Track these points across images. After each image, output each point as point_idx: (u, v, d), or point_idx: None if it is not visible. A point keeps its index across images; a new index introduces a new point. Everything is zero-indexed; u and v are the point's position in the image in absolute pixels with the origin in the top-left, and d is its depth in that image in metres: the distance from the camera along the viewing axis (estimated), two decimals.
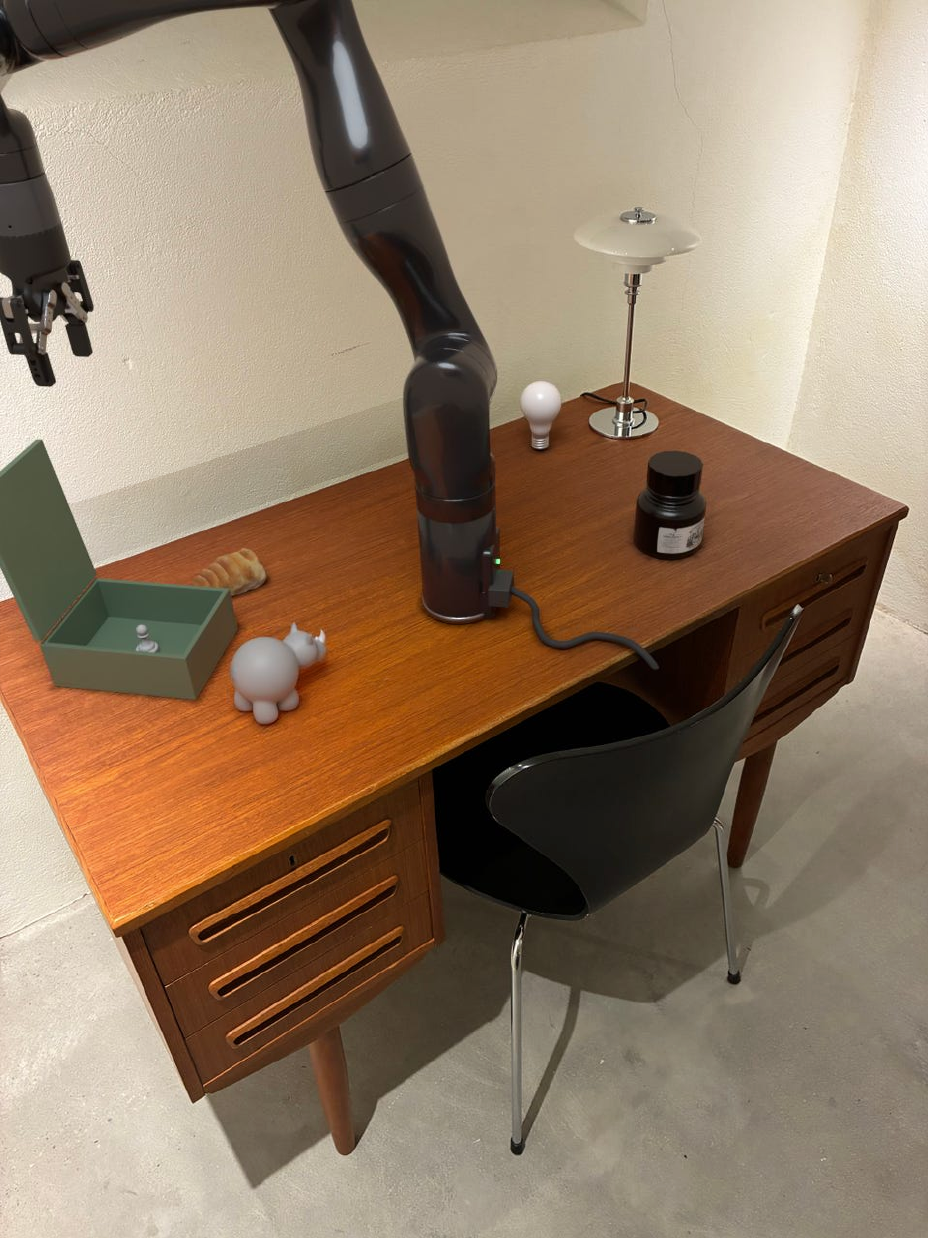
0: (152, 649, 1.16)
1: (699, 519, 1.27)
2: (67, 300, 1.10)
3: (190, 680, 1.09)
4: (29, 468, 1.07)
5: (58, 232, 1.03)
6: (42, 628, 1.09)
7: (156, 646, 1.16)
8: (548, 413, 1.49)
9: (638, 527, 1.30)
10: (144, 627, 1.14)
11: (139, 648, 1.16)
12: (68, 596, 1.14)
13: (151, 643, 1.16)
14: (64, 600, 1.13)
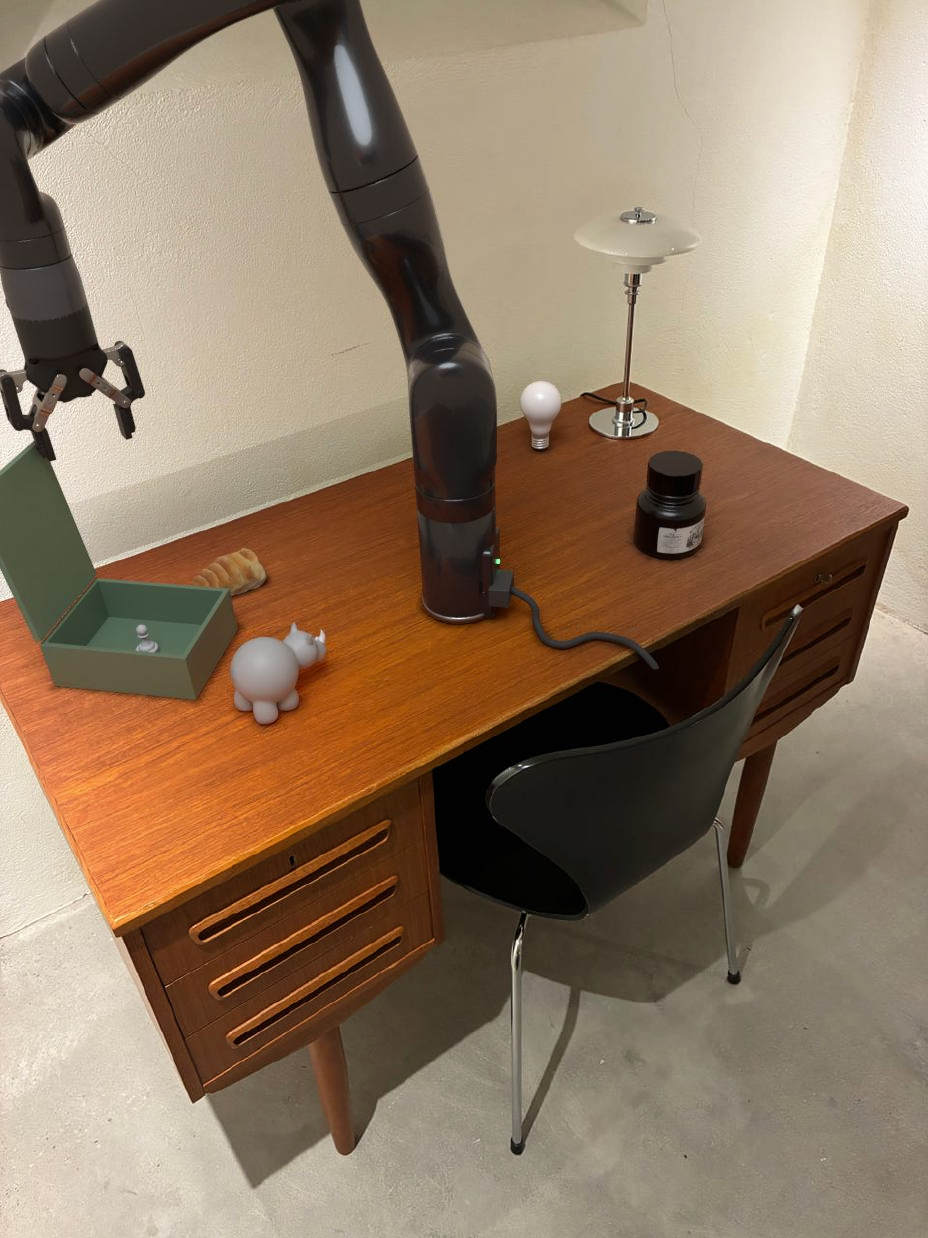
0: (152, 649, 1.16)
1: (699, 519, 1.27)
2: (91, 385, 1.06)
3: (190, 680, 1.09)
4: (28, 468, 1.07)
5: (62, 323, 0.99)
6: (42, 628, 1.09)
7: (156, 646, 1.16)
8: (548, 413, 1.49)
9: (638, 527, 1.30)
10: (144, 627, 1.14)
11: (139, 648, 1.16)
12: (68, 596, 1.14)
13: (151, 643, 1.16)
14: (64, 600, 1.13)
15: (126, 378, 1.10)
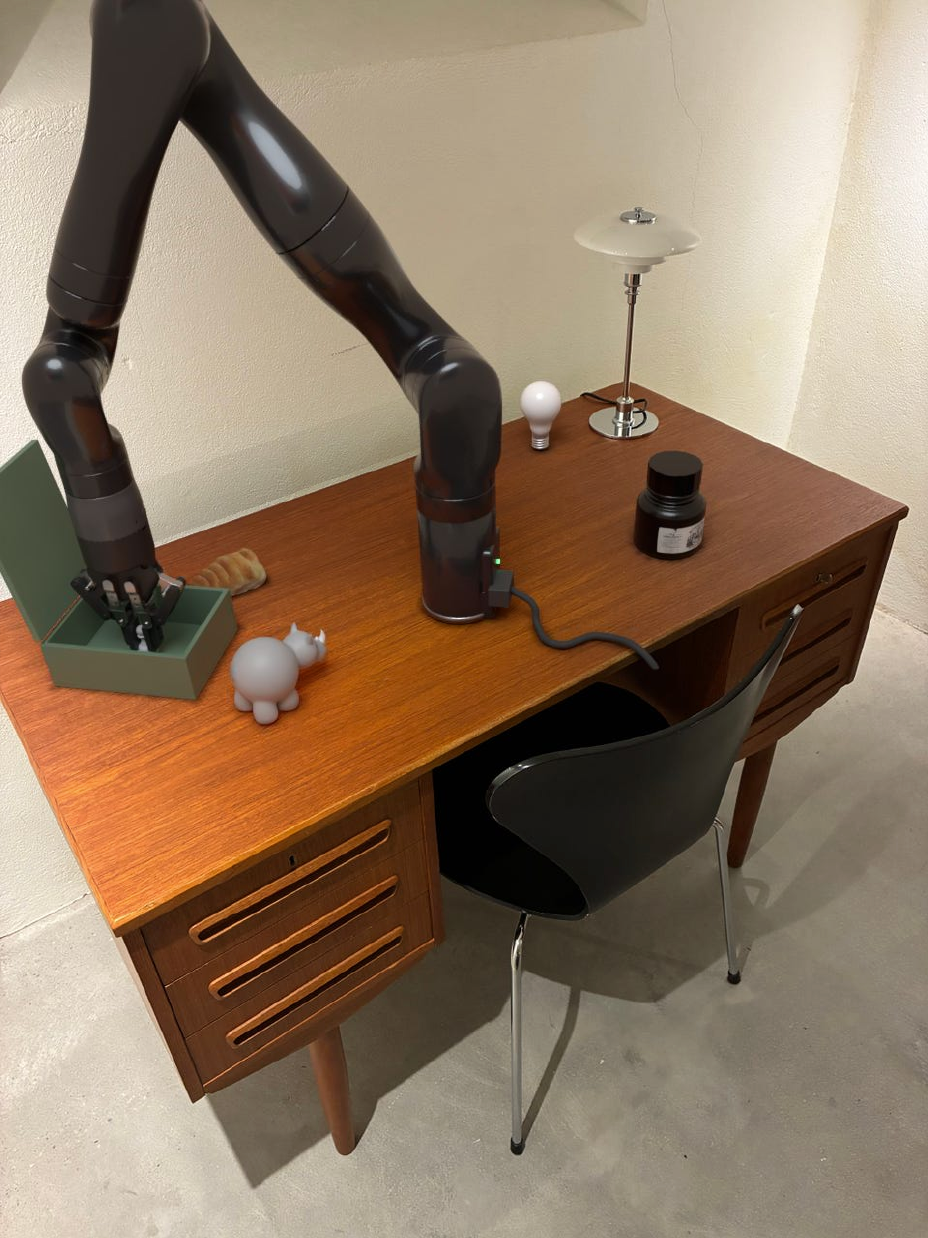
0: None
1: (699, 519, 1.27)
2: None
3: (190, 680, 1.09)
4: (25, 468, 1.07)
5: (97, 547, 1.03)
6: (42, 628, 1.09)
7: None
8: (548, 413, 1.49)
9: (638, 527, 1.30)
10: None
11: (139, 648, 1.16)
12: (68, 596, 1.14)
13: None
14: (64, 600, 1.13)
15: None
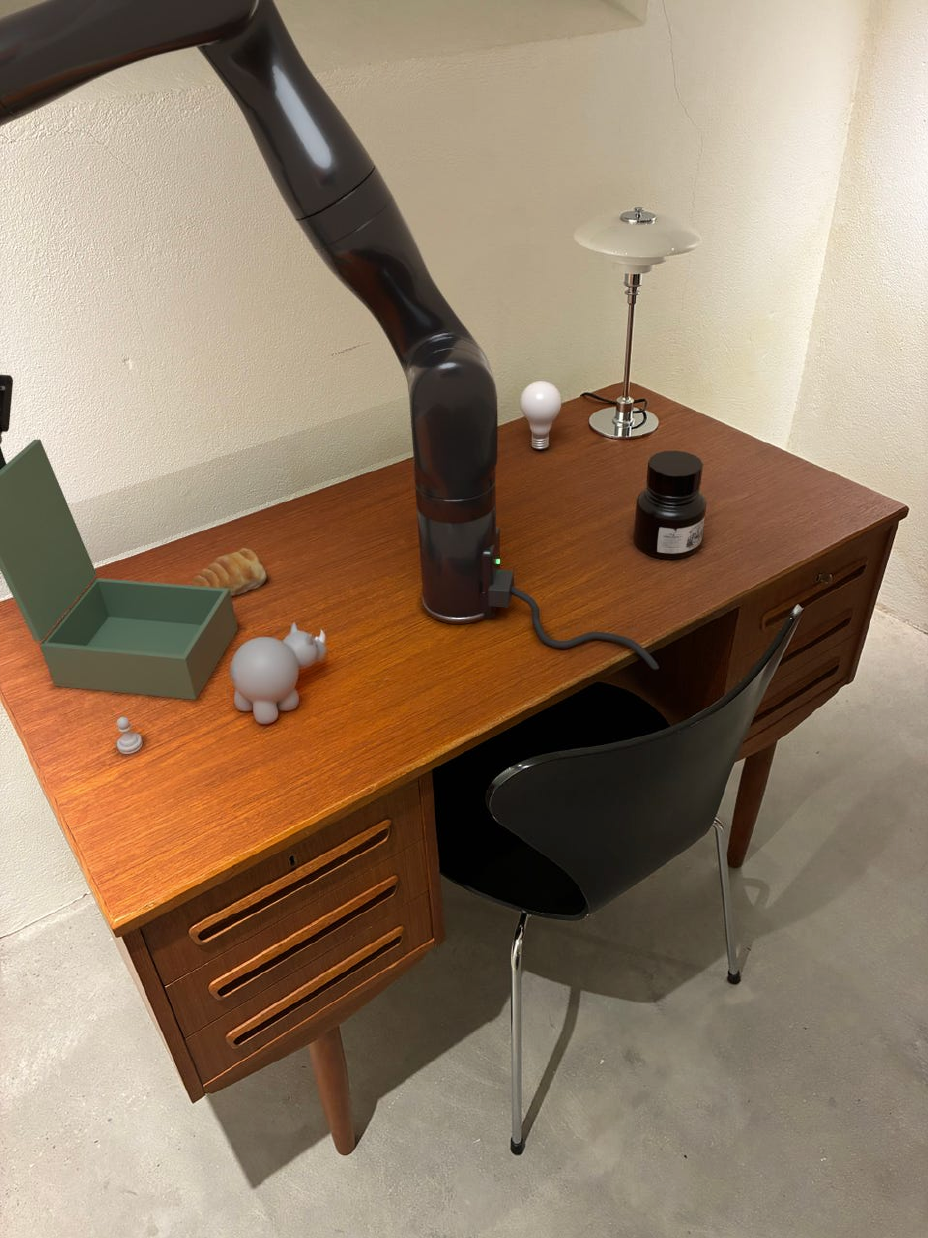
0: (134, 743, 1.04)
1: (699, 519, 1.27)
2: None
3: (190, 680, 1.09)
4: (27, 468, 1.07)
5: None
6: (42, 628, 1.09)
7: (139, 739, 1.04)
8: (548, 413, 1.49)
9: (638, 527, 1.30)
10: (126, 720, 1.03)
11: (120, 742, 1.04)
12: (68, 596, 1.14)
13: (134, 736, 1.04)
14: (64, 600, 1.13)
15: None
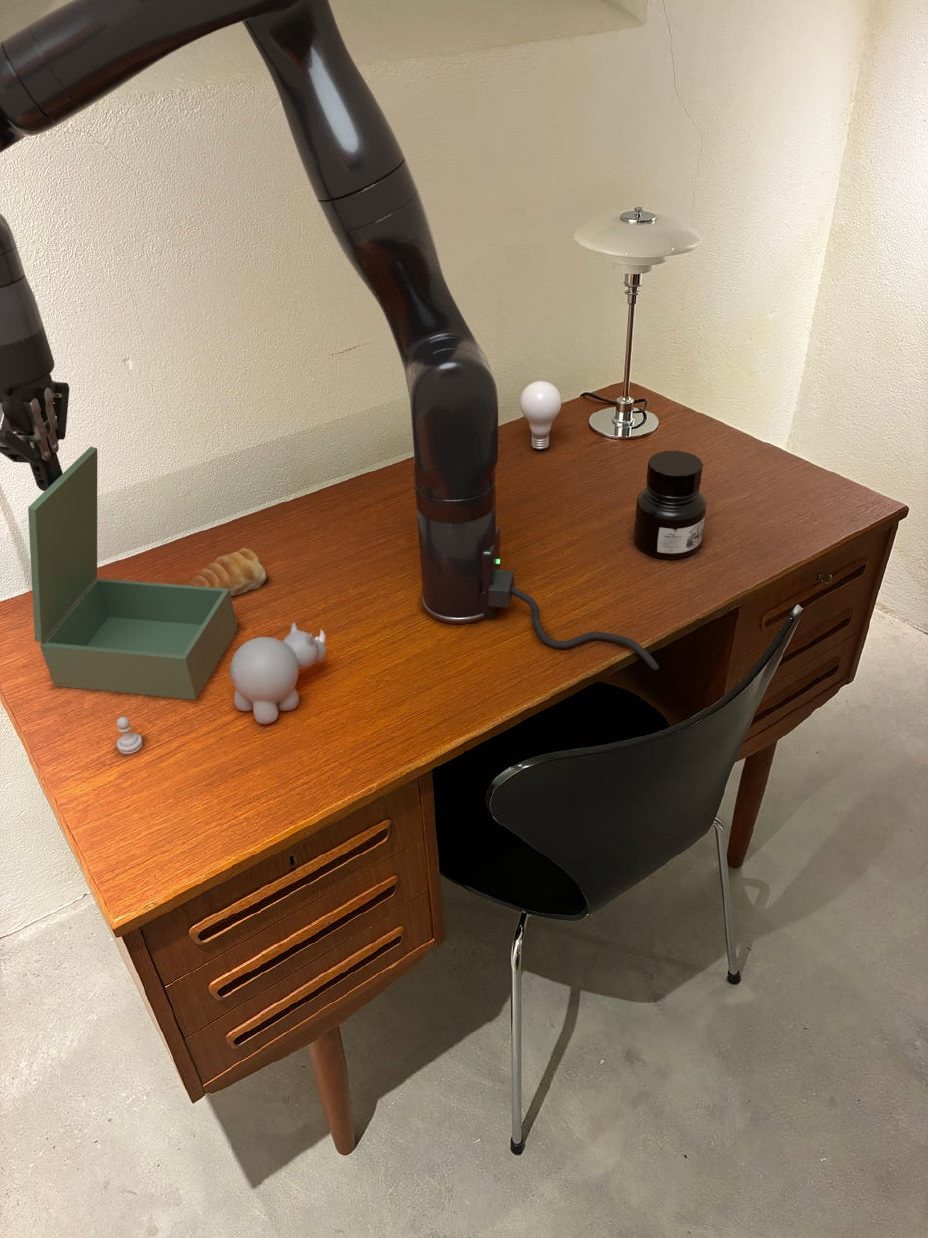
0: (134, 743, 1.04)
1: (699, 519, 1.27)
2: (45, 410, 1.00)
3: (190, 680, 1.09)
4: (80, 477, 1.06)
5: (40, 339, 0.94)
6: (46, 630, 1.09)
7: (139, 739, 1.04)
8: (548, 413, 1.49)
9: (638, 527, 1.30)
10: (126, 720, 1.03)
11: (120, 742, 1.04)
12: (72, 598, 1.14)
13: (134, 736, 1.04)
14: (68, 602, 1.13)
15: None
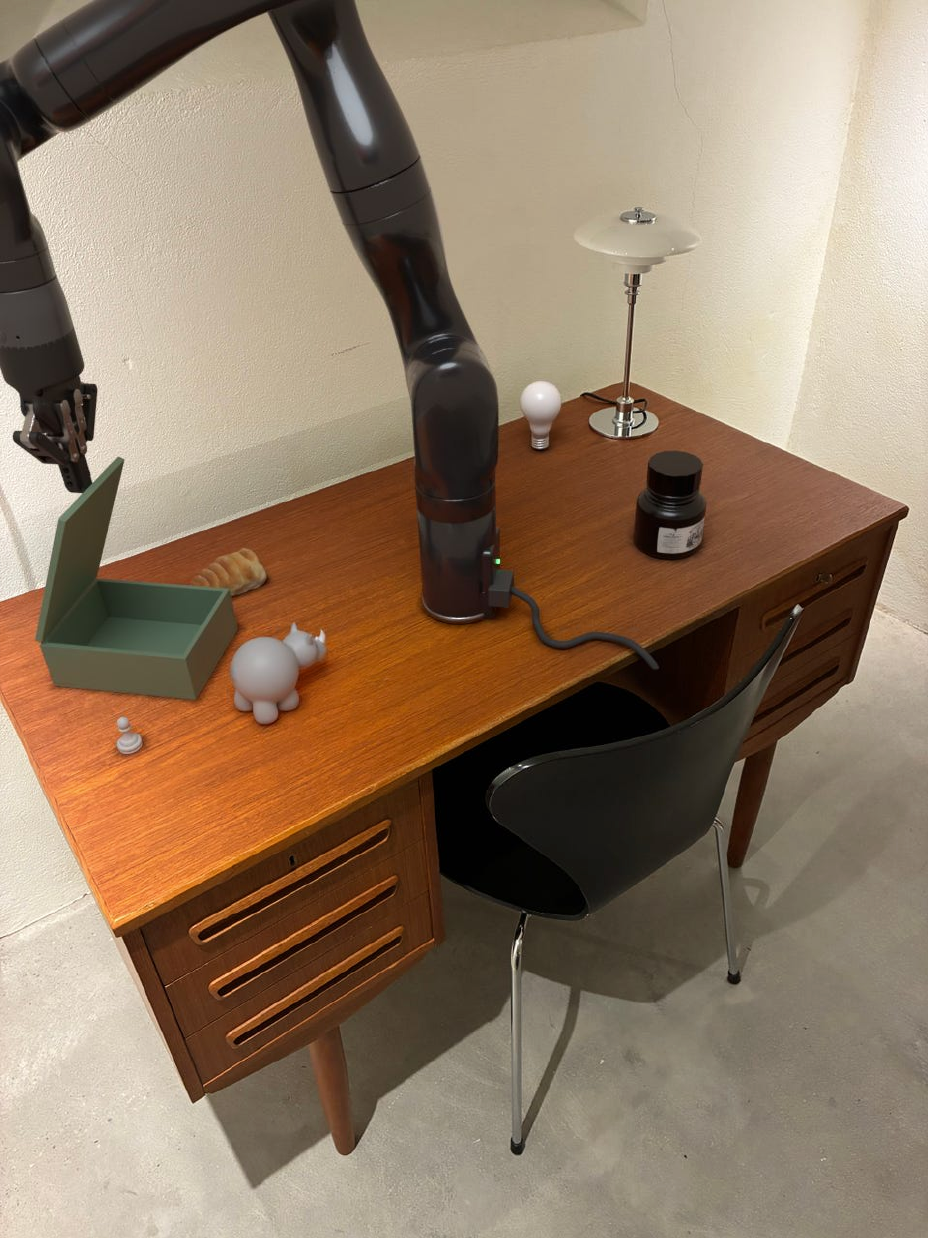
0: (134, 743, 1.04)
1: (699, 519, 1.27)
2: (74, 411, 0.99)
3: (190, 680, 1.09)
4: (106, 487, 1.07)
5: (71, 340, 0.94)
6: (47, 631, 1.10)
7: (139, 739, 1.04)
8: (548, 413, 1.49)
9: (638, 527, 1.30)
10: (126, 720, 1.03)
11: (120, 742, 1.04)
12: (73, 599, 1.14)
13: (134, 736, 1.04)
14: (70, 603, 1.13)
15: None
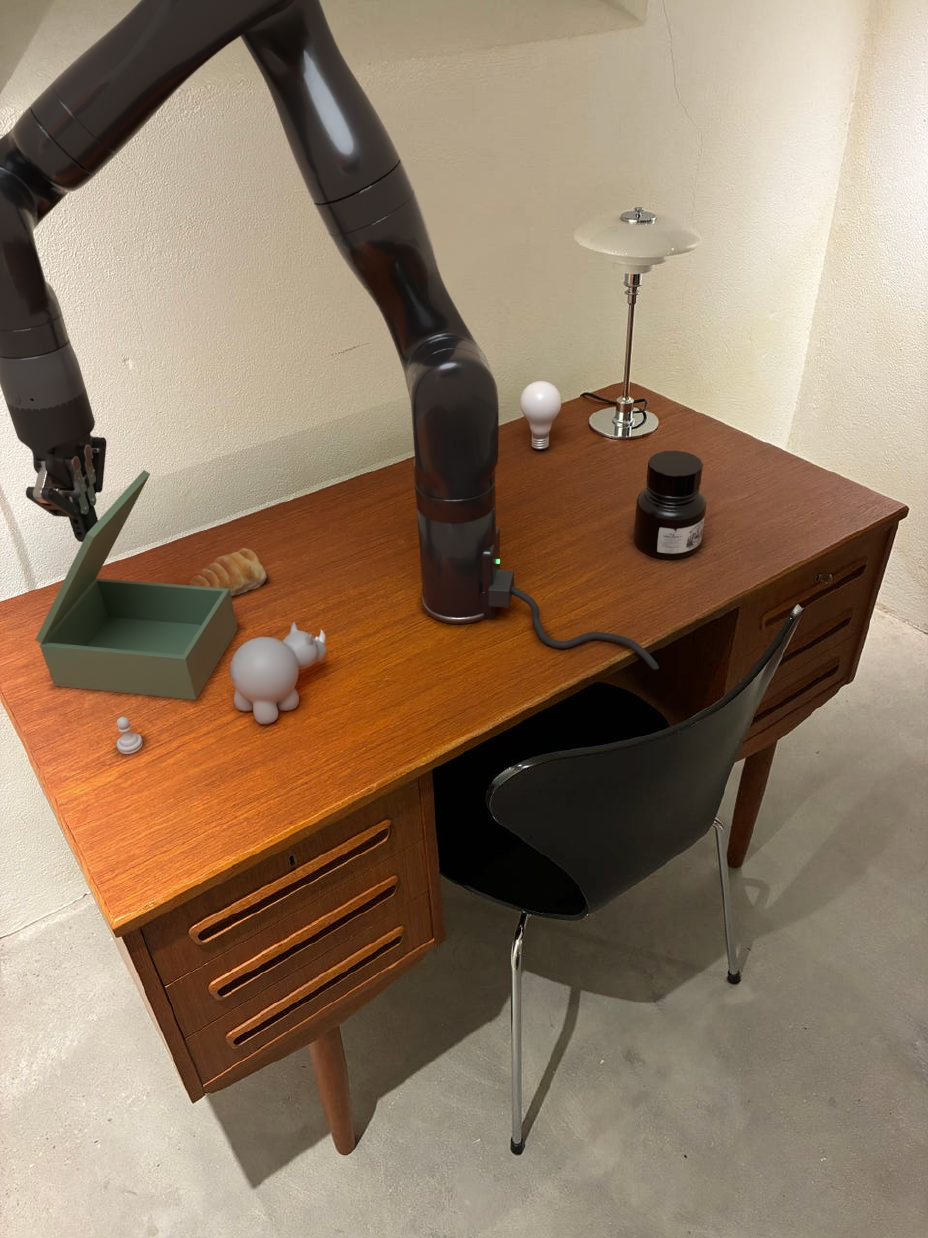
0: (134, 743, 1.04)
1: (699, 519, 1.27)
2: (84, 466, 1.03)
3: (190, 680, 1.09)
4: (130, 500, 1.07)
5: (83, 400, 0.97)
6: (49, 632, 1.10)
7: (139, 739, 1.04)
8: (548, 413, 1.49)
9: (638, 527, 1.30)
10: (126, 720, 1.03)
11: (120, 742, 1.04)
12: (75, 600, 1.14)
13: (134, 736, 1.04)
14: (71, 604, 1.13)
15: None
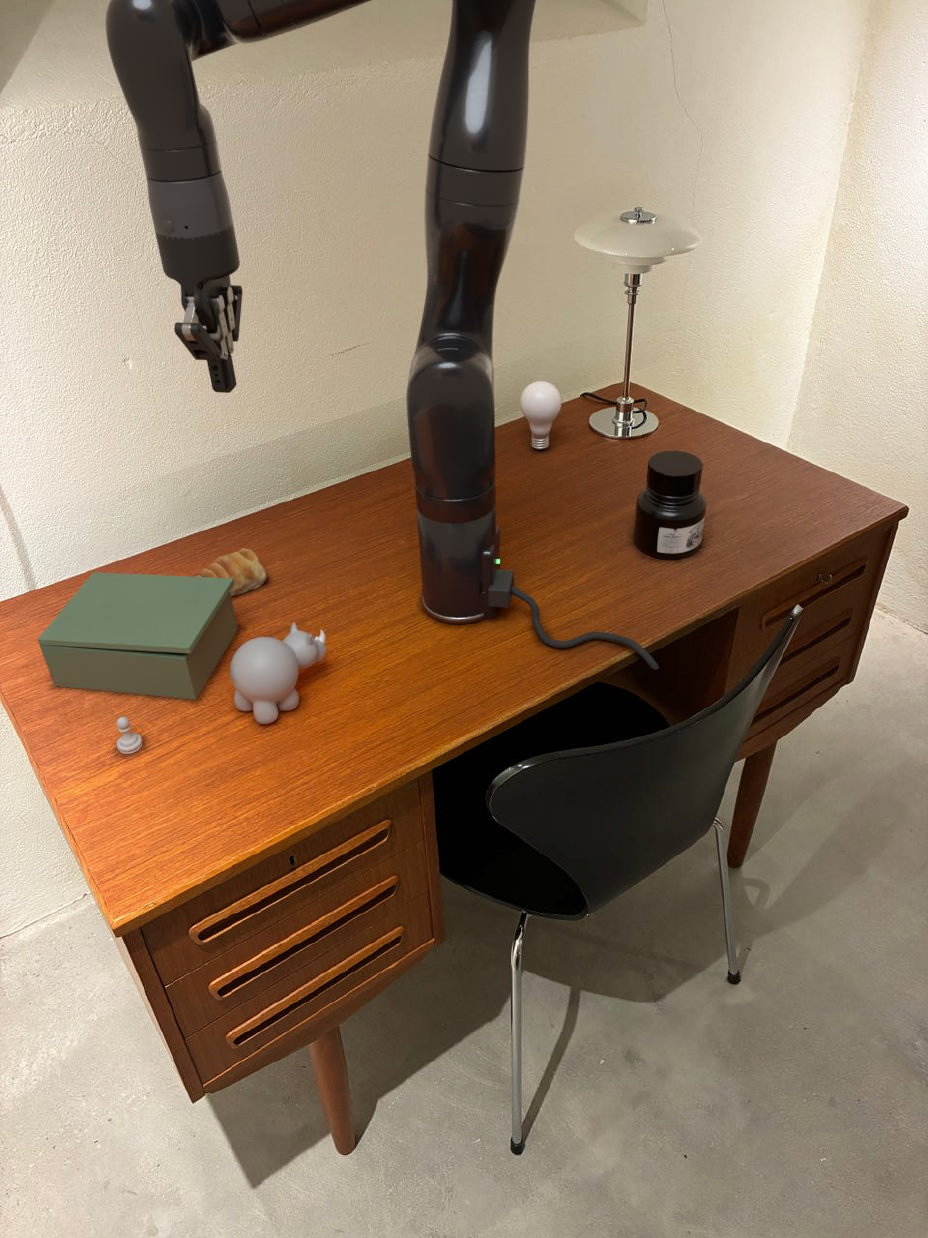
0: (134, 743, 1.04)
1: (699, 519, 1.27)
2: (226, 308, 1.02)
3: (190, 680, 1.09)
4: None
5: (232, 233, 0.97)
6: None
7: (139, 739, 1.04)
8: (548, 413, 1.49)
9: (638, 527, 1.30)
10: (126, 720, 1.03)
11: (120, 742, 1.04)
12: None
13: (134, 736, 1.04)
14: None
15: None
